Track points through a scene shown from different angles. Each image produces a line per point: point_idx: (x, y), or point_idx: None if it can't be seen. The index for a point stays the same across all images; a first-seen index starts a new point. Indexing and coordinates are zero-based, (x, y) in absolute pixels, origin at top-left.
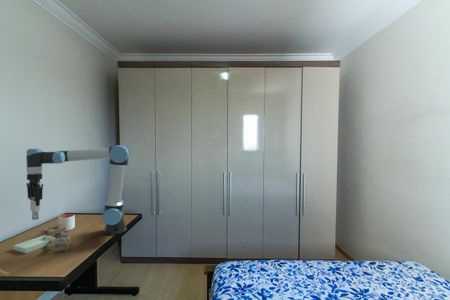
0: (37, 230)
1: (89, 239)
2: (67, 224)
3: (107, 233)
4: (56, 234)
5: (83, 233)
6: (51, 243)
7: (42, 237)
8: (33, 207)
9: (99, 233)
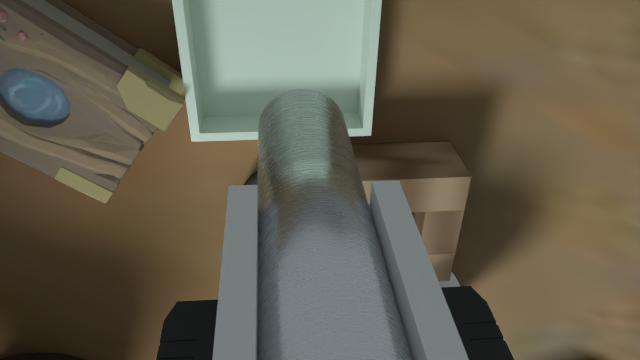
0: (615, 194)
1: (21, 256)
2: None
3: (26, 355)
4: None
5: (196, 296)
6: (7, 26)
7: (362, 109)
8: (286, 239)
9: (87, 336)
